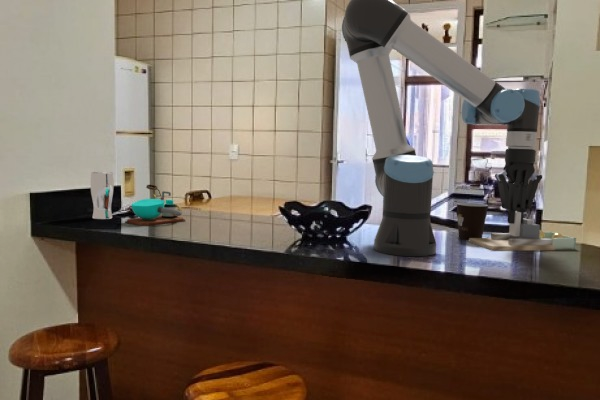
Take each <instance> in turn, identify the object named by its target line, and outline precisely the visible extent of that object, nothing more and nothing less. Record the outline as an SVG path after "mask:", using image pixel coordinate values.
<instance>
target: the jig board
mask: <svg viewBox="0 0 600 400" xmlns="http://www.w3.org/2000/svg"><path fill="white" fill-rule="evenodd" d="M468 243H470V244H473V245H475V246H476V245H477V246H478V247H480V248H481V247H482V248H484V249H488V250H490V251H555V250H556V249H555V246H554V245H552V244H553V239H510V235H509V232H504V233H503V232H497V233H496V232H494V233H493V232H492V233H490V237H482V238H469V240H468Z"/></svg>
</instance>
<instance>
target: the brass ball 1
mask: <svg viewBox="0 0 600 400" xmlns="http://www.w3.org/2000/svg"><path fill="white" fill-rule="evenodd" d="M544 232H545V231H543V230H541V229H540V233H539V239H544V237H545V234H544Z"/></svg>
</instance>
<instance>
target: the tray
mask: <svg viewBox="0 0 600 400" xmlns="http://www.w3.org/2000/svg"><path fill="white" fill-rule="evenodd" d="M543 232H544V234H545V237H544V239H553V244H552V245H554V246H555V250H576V246H577V237H572V236H569V235H565V234H562V235H563V237H564V238H551V237H552V235H553V234H555V233H556V232H553V231H543Z"/></svg>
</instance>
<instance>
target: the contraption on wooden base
mask: <svg viewBox="0 0 600 400" xmlns="http://www.w3.org/2000/svg"><path fill="white" fill-rule="evenodd" d="M145 188H146V189H148V190H151V191H152V190H153V191H152V192H153V196H154V198H144V199H141V200H137V201H135V202H133V203H132V202H131V204H130V205H131V209H132V212H133V213H134V214H135V216H137V217H135V218H134V217H133V218H127V219H126V221H124V224H129V225H134V226H140V227H141V226H142V227H153V226H160V225H168V224H169V225H170V224H177V223H186V219H184V217H181V216H182V215H183V212H182V208H181V206H180V205H179V204H175V203H174V200H173V199H166V200H165V194H167V195H168V197H172V195H171V194H172V193H171V192H170V191H165V190H164V191H163V190H162V191H160V190H159V189H158V186H157V185H154V184H146V187H145ZM155 190H156V191H158V194H159V196H160V198H156V197H157V195H155V194H156V193H155Z"/></svg>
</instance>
